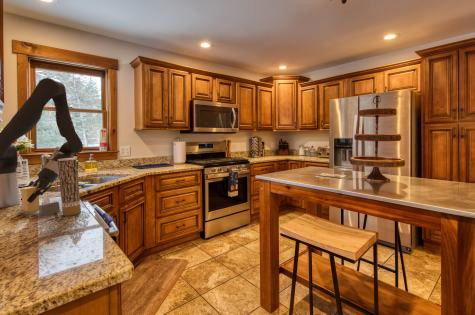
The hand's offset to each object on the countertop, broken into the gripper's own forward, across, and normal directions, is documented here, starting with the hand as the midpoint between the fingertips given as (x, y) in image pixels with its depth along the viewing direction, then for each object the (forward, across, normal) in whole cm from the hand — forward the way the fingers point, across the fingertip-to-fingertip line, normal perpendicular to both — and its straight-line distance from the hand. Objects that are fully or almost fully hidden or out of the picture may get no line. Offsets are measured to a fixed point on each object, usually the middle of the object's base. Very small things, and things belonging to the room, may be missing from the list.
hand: (25, 201), depth 113 cm
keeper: (+2, 0, +5) cm, 5 cm away
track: (+3, +6, +5) cm, 8 cm away
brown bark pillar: (0, +23, +8) cm, 24 cm away
